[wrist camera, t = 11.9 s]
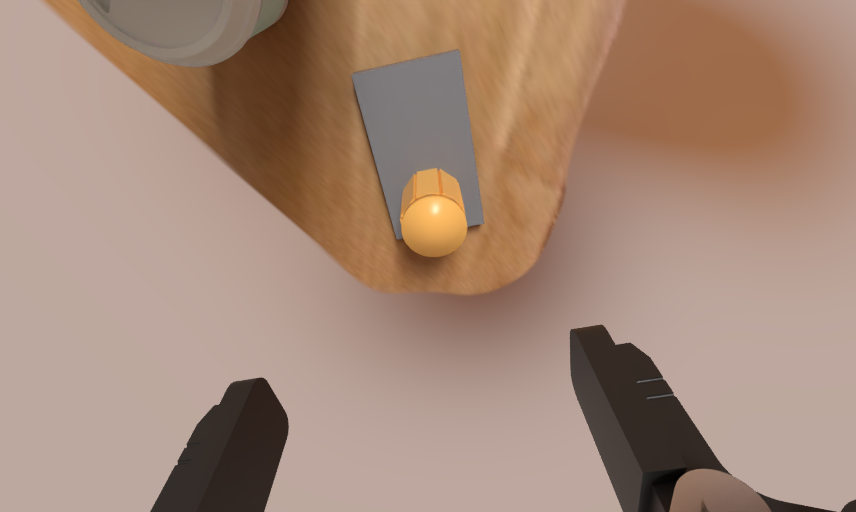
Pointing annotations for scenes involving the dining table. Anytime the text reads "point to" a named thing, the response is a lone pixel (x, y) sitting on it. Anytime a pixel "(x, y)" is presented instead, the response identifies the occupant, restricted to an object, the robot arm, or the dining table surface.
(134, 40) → the coffee cup
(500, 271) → the dining table surface
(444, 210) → the wire nut
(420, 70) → the board
